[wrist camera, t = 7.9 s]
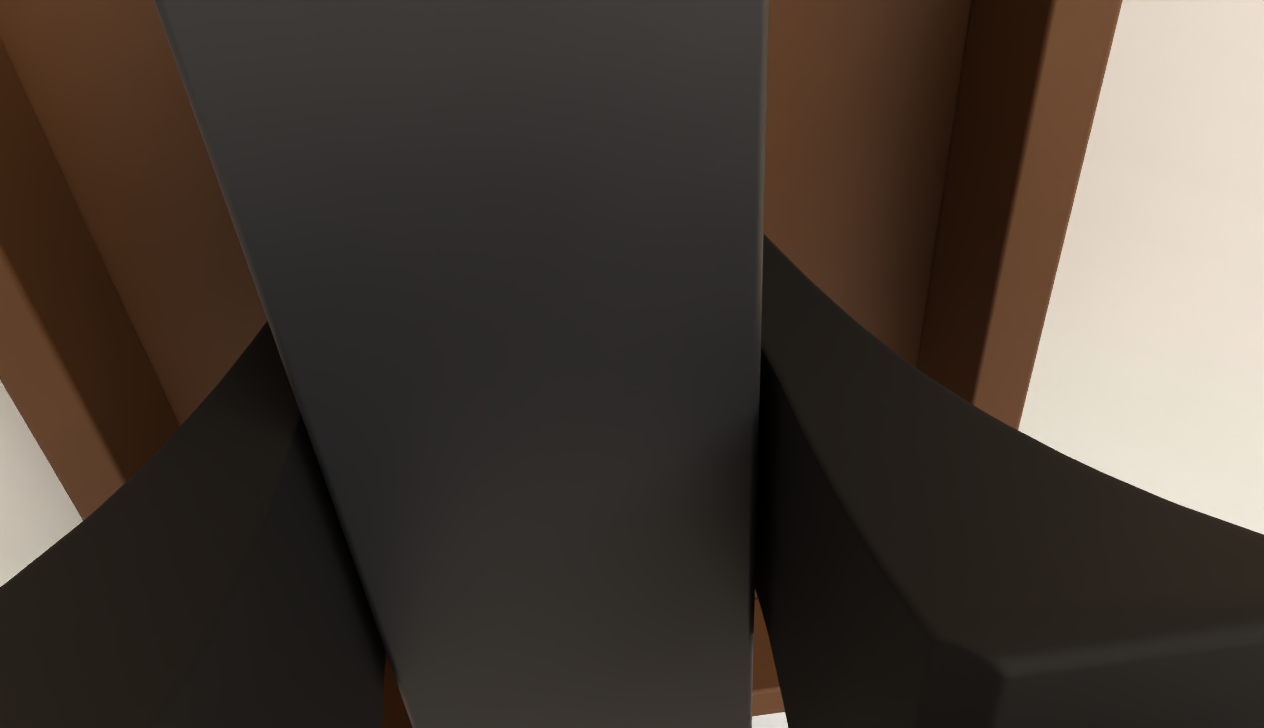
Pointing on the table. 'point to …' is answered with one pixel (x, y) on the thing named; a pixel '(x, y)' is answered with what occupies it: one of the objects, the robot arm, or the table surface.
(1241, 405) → the table surface
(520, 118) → the dark grey eraser block
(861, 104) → the tray
